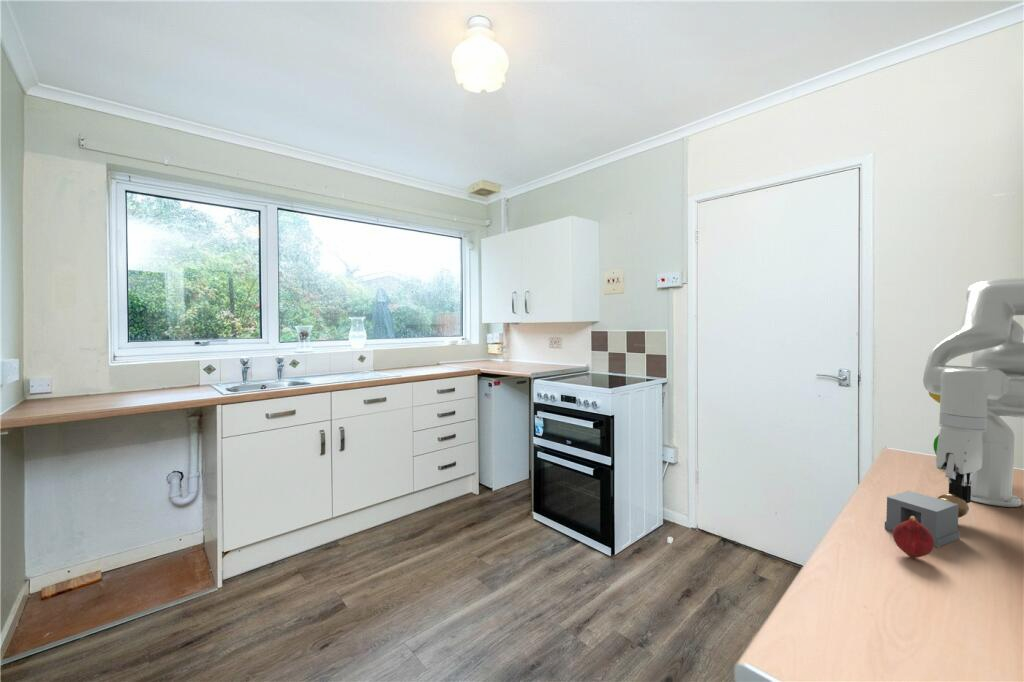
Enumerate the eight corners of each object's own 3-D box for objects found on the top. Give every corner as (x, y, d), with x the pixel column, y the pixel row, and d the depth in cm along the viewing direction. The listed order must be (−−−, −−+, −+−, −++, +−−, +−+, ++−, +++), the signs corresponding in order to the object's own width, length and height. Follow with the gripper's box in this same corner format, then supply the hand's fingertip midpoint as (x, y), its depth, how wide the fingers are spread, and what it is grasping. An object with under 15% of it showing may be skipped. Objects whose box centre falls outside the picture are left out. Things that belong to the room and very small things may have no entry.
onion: (941, 567, 80) (943, 525, 80) (905, 564, 81) (906, 522, 81) (919, 551, 86) (920, 511, 86) (885, 548, 87) (886, 509, 87)
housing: (906, 521, 99) (907, 490, 99) (959, 538, 91) (960, 504, 91) (884, 528, 96) (885, 496, 95) (937, 547, 87) (938, 512, 87)
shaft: (939, 511, 101) (939, 490, 101) (968, 520, 97) (969, 498, 97) (910, 521, 96) (911, 499, 96) (939, 531, 92) (940, 507, 92)
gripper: (956, 417, 106) (953, 491, 106) (924, 421, 100) (921, 500, 100) (1000, 423, 99) (997, 502, 100) (969, 428, 93) (966, 512, 93)
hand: (959, 501), depth 100 cm, fingers closed
